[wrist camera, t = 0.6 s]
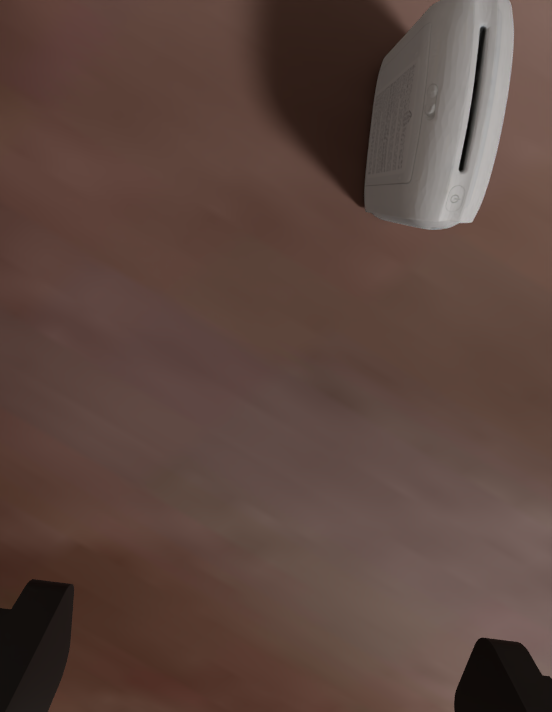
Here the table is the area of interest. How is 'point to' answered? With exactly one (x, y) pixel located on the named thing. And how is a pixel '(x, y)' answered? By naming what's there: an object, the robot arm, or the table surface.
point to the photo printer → (440, 115)
